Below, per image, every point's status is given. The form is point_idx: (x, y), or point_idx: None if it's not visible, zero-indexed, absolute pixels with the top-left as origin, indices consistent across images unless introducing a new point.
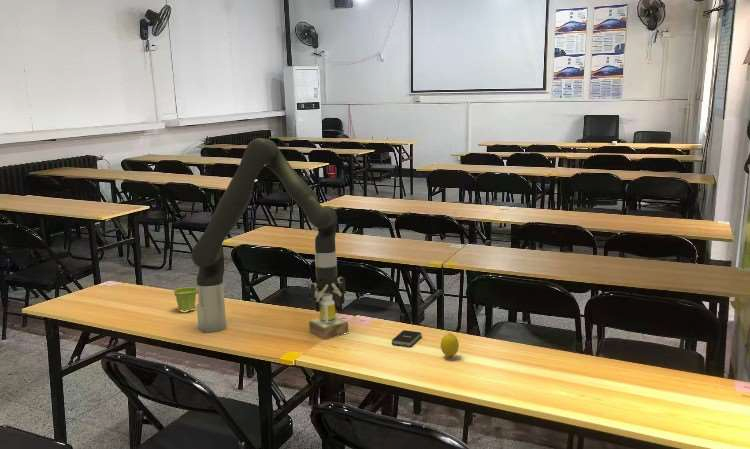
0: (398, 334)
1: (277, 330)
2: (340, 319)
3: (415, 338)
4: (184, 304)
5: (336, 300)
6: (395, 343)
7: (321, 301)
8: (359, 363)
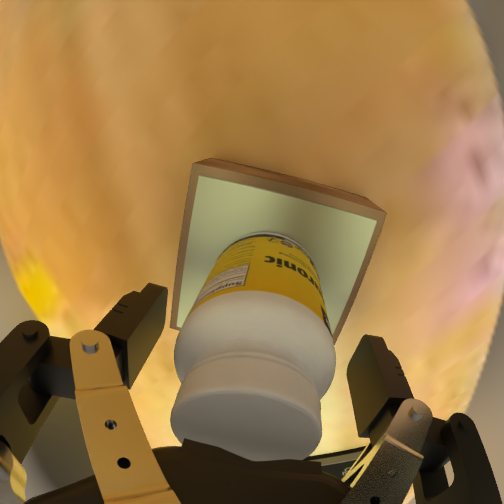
0: (353, 459)
1: (133, 16)
2: (336, 317)
3: None
4: None
5: (368, 380)
6: None
7: (188, 358)
8: (153, 448)
